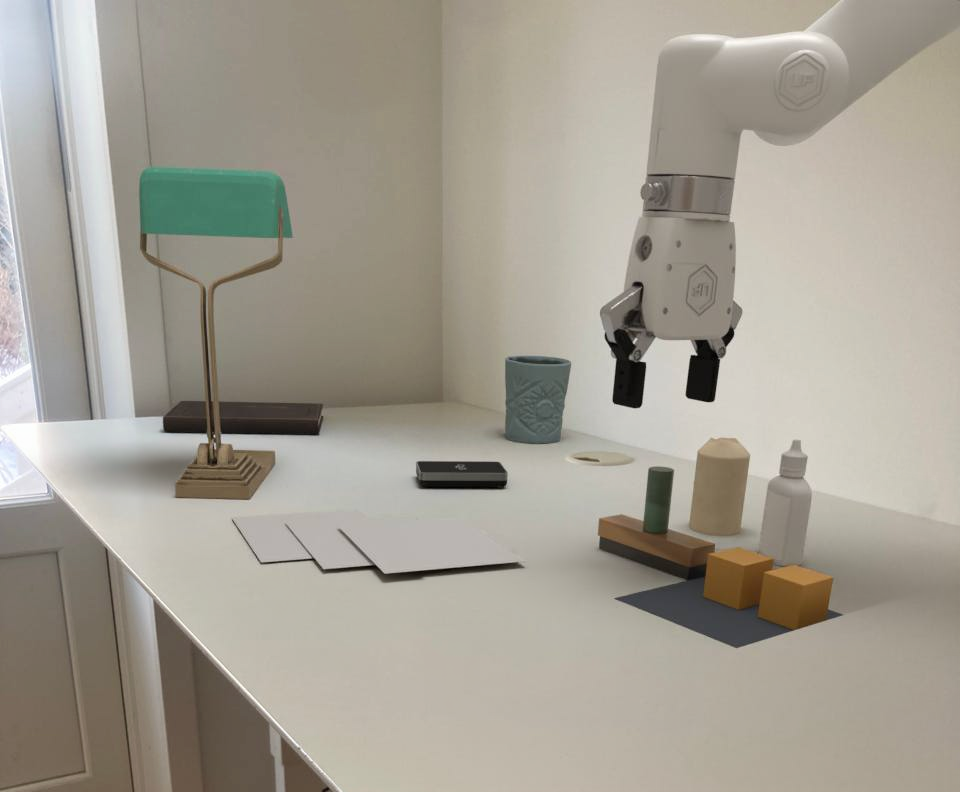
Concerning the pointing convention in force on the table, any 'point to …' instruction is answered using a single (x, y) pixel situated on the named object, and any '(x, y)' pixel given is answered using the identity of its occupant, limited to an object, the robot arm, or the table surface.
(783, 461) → the eye dropper bottle
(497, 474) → the external hard drive
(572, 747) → the table surface
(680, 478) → the table surface
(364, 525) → the paper stack
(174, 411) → the hardcover book
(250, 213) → the banker's lamp
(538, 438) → the embossed green cup
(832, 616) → the mat
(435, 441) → the table surface
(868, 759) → the table surface
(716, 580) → the cube
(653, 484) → the brush
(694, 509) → the candle
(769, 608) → the cube
